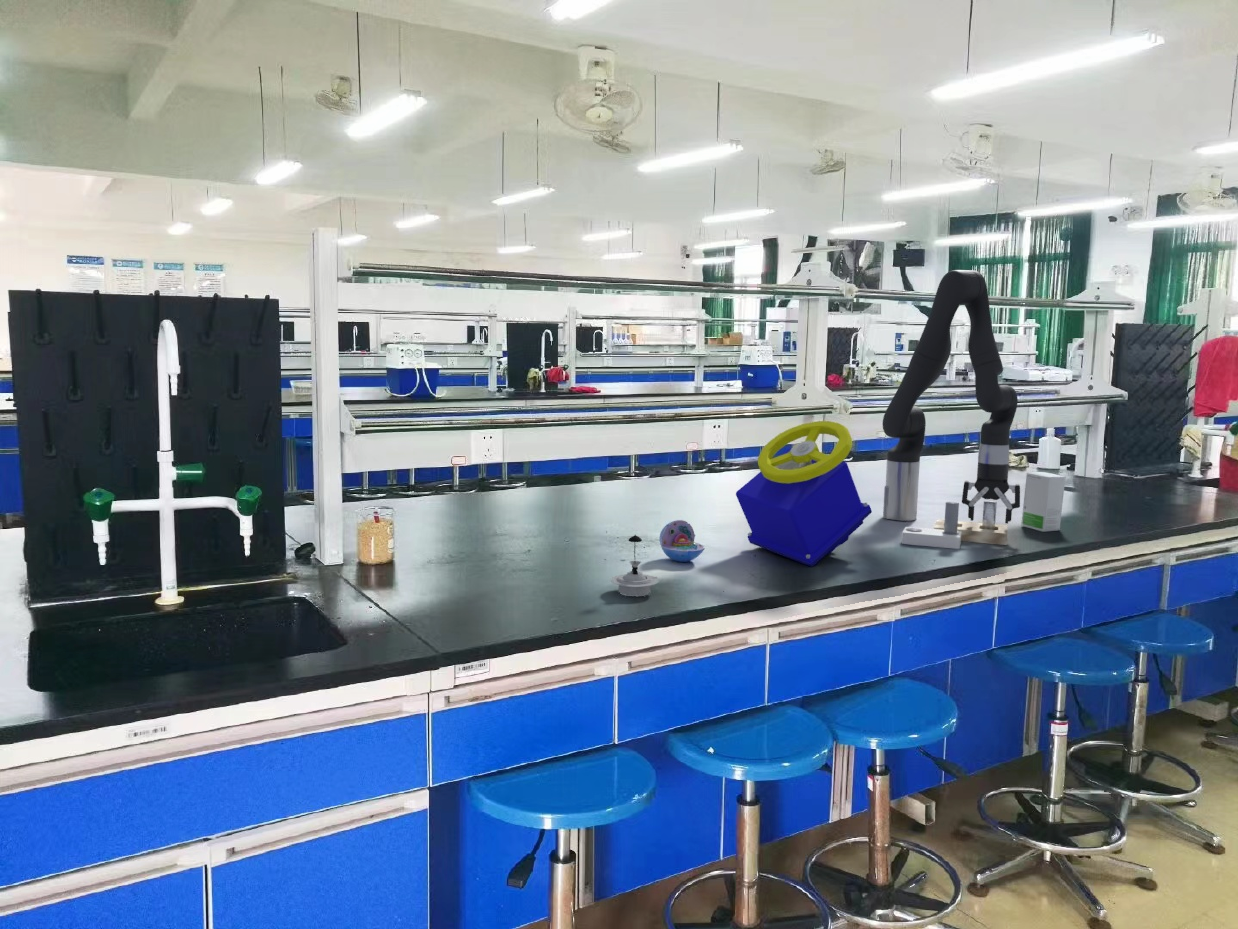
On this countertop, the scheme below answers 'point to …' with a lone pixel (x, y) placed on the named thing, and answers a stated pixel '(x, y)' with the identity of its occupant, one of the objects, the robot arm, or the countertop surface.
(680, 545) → the cell model
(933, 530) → the block
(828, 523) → the control box
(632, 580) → the white domed rod stand
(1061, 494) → the skincare box
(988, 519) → the steel pin
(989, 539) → the pin board
